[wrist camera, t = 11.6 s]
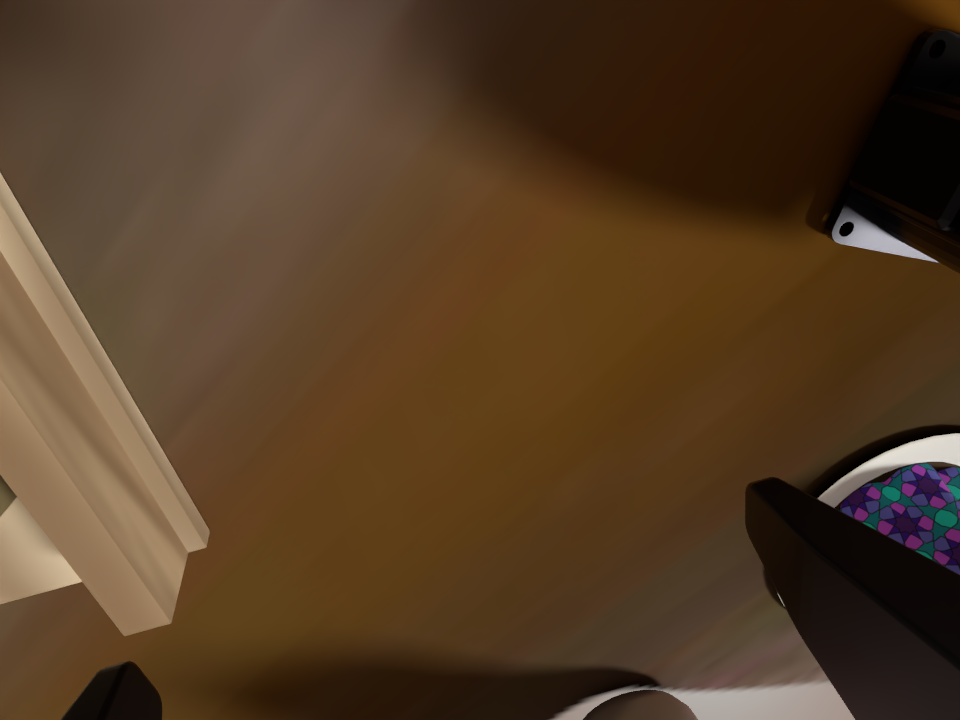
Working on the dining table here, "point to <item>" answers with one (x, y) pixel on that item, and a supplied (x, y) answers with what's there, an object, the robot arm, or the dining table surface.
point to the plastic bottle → (642, 707)
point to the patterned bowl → (909, 497)
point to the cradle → (79, 454)
